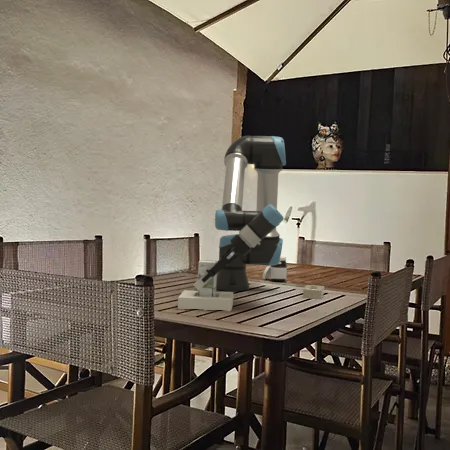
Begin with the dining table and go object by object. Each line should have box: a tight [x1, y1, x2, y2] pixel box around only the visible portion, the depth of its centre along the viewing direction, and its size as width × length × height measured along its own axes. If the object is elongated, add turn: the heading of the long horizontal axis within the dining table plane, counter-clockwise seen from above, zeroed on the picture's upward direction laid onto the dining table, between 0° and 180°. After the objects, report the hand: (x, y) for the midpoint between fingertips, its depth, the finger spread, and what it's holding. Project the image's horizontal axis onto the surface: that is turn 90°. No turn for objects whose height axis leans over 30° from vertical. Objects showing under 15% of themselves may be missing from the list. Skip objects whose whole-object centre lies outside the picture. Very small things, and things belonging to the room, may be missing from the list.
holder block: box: [177, 289, 235, 312], centre depth 191 cm, size 18×16×4 cm
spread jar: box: [262, 256, 288, 283], centre depth 262 cm, size 12×11×12 cm
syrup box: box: [197, 259, 218, 297], centre depth 190 cm, size 6×6×14 cm
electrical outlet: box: [302, 284, 325, 300], centre depth 223 cm, size 7×4×18 cm
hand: (197, 285), depth 191 cm, fingers closed on syrup box, 6 cm apart
